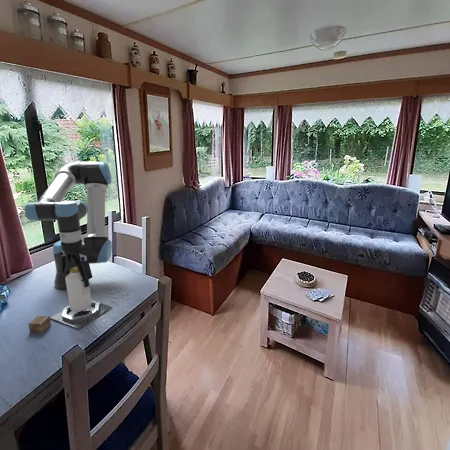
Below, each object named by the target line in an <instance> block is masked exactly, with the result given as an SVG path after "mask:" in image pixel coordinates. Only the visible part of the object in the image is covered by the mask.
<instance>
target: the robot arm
mask: <svg viewBox="0 0 450 450" xmlns="http://www.w3.org/2000/svg"><path fill="white" fill-rule="evenodd" d="M80 184H81V185H83V187H84V188H85V189H86V190H87V191H86V195H87V196H86V197H87V198H86V199H87V200H86V202H87V203H86V202H85V201H83V200H81V199H80V200H79V199H77V200H64V198H65V196H66V195H67V193H68V192H69V190H70V189H71V188H72V187H74V186H75V185H80ZM111 184H112V173H111V171H110V167H109V165H108V163H107V162H104V161H102V162H101V161H74V162H70V163H68V164H65V165H63V166H62V167H61V168H60V169H58V170H57V171H56V172H55V175H54V180H52V182H51V183H50V185H49V186H48V187H47V189H46V190H45V191H44V192H43V193H42V195H41V196H40V198H39V199H38V200H37V201H36V202H35V201H33V202H29V203H26V205H25V206H24V215H25V218H26V219H27V220H29V221H34V222H35V221H37V222H41V221H42V222H43V221H44V222H45V221H57V222H56V223H57V226H58V227H57V228H58V233H59V238H60V239H59V241H57V242H55V243H54V244H53V246H52V251H53V252H52V255H53V258H54V259H53V260H54V264H55V271H56V272H55V277H54V287H55V288H56V289H58V290H67V287H66V280H65V278H66V276H67V275H68V274H70V269H71V268H73V267H77V269H78V271H79V273H80V275H81V277H82V280H81V284H82V291H83V295H85V294H87V293H89V292H90V293H91V289H90V290H89V288H90V279H93V273H92V270H91V266H90V264H92V265H93V264H102V263H103V264H104V263H108V262H109V260H110V259H111V256H112V252H113V251H112V250H113V246H112V245H113V243H112V241H111V240H110V239H109V236H108V235H107V234H106V190H107V189H108V188H109V185H111ZM84 217H86V234H85V236H83V235H82V230H81V222H80V220H81V219H83V218H84ZM82 236H83V237H82ZM82 238H83V240H82Z"/></svg>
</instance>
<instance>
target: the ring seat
mask: <svg viewBox="0 0 450 450" xmlns="http://www.w3.org/2000/svg"><path fill="white" fill-rule="evenodd" d="M112 308H113V306H111V305H107V304H104V303H101V302H100V301H96V300H93V299H91V306H90V307H89V308H87V309H86V310H83V311H78V312H76V311H72V310H71V309H70V305H67V306H65V307H64V308H63V309H62V310H60V311H58V312H57V313H55V314H53V315H52V316H49V317H50V320H52V321H55V322H57V323H60V324H61V325H62V324H63V325H64V326H67V327H69V328H72V329H75V330H77V331H80V330H81V329H83V328H84V327H86V326H87V325H88V324H90V323H92V322H93V321H95V320H96V319H97V318H99V317H101V316H102V315H104V314H105V313H106V312H108V311H109V310H111V309H112Z"/></svg>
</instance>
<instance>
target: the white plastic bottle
mask: <svg viewBox="0 0 450 450" xmlns="http://www.w3.org/2000/svg"><path fill="white" fill-rule="evenodd" d="M65 280H66V287H67V289H66V291H67V297H68V304H69V305H70V309H71V310H72V311H76V312H78V311H83V310H86V309H87V308H89V307H90V306H91V300H92V297H91V296H92V295H91V289H90V287H89V290H90V292H89V293H87V294H85V295H83V291H82V284H81V280H82V277H81V275H80V273H79V271H78V269H77V267H73V268H71V269H70V274H68V275H67V276H66V278H65ZM69 305H68V306H69Z"/></svg>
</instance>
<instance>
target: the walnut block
mask: <svg viewBox="0 0 450 450" xmlns="http://www.w3.org/2000/svg"><path fill="white" fill-rule="evenodd" d="M50 317H51V316H50V315H49V316H48V315H36V316H35V317H34V318H33V319H32V320H30V321H29V322H28V325H27V326H28V329H29V332H30V333H43V334H44V332H45V331H46V330H47V329H48V328H49V327H50V326H51V325H52V324H51V319H50Z"/></svg>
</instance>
